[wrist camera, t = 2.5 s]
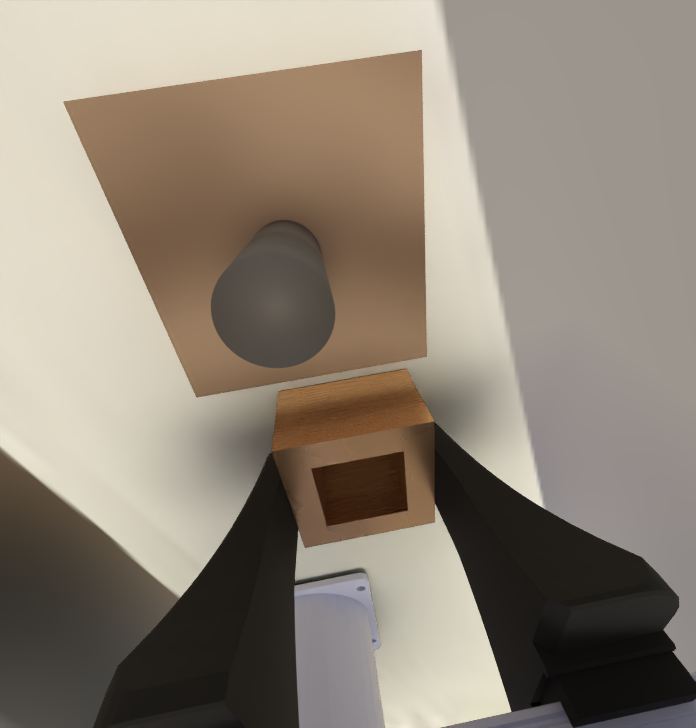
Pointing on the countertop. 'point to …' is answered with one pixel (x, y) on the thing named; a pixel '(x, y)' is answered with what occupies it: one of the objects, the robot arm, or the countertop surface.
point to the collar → (356, 457)
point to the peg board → (273, 215)
